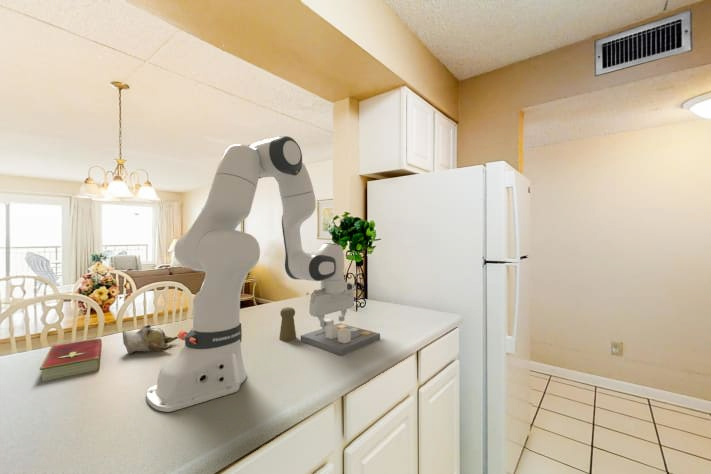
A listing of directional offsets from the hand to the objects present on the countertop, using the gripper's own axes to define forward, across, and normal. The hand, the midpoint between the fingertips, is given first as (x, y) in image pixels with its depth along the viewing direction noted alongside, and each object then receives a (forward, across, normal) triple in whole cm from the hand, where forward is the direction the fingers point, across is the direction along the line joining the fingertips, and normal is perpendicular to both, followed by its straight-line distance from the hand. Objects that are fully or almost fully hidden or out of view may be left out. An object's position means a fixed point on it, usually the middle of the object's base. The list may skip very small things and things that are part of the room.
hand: (332, 323), depth 118 cm
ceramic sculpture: (+4, -50, +34) cm, 61 cm away
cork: (+4, -13, +10) cm, 17 cm away
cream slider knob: (+2, -6, -12) cm, 14 cm away
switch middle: (+2, -7, -6) cm, 9 cm away
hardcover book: (+5, -68, +40) cm, 79 cm away
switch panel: (+4, -2, -6) cm, 8 cm away
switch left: (+2, -2, 0) cm, 3 cm away
